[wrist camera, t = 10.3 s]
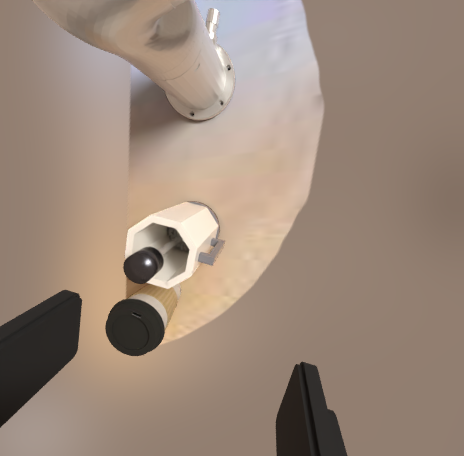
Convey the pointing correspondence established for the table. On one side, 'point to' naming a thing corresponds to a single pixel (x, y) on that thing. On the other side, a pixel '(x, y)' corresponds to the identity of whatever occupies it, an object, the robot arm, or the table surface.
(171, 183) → the table surface
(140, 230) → the coffee press
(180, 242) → the plunger
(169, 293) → the coffee cup
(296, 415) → the robot arm
